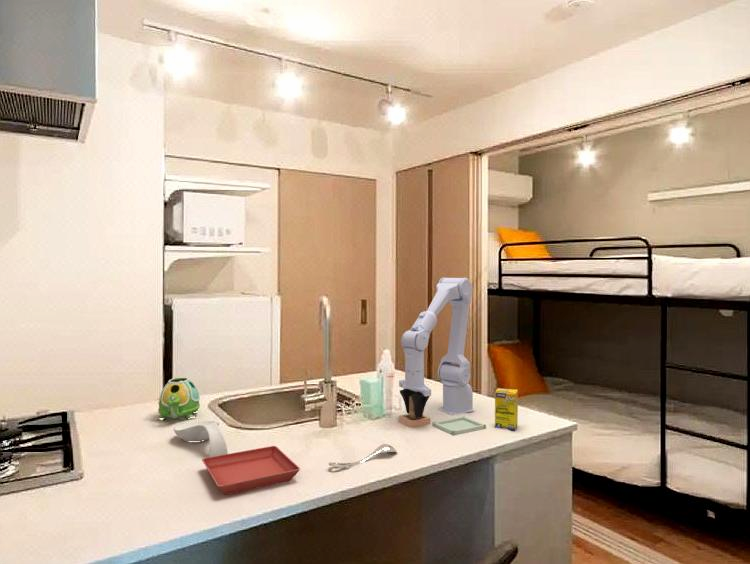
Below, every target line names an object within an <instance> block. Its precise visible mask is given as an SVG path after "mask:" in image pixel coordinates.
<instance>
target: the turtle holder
mask: <svg viewBox="0 0 750 564" xmlns="http://www.w3.org/2000/svg"><path fill="white" fill-rule="evenodd" d="M200 399H201V397H200V394H199V391H198V389H197V386H196V385H195V383H193V381H192V380H191V379H190V378H189V377H173V378H171V379H169V380H168V381H167V383H166V384H165V386H163V388H162V390H161V392H160V394H159V398H158V402H157V404H158V411H157V412H158V414H159V416H158V418H165V419H166V417H167V418H172V419H177V418H179V417H182V416H183V417H185V419H187V418H190V417H194V416H196V415H195V414H194V413H193V412H196V411H198V412H199V409H200V406H201V404H200Z"/></svg>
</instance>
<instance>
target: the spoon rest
mask: <svg viewBox="0 0 750 564" xmlns="http://www.w3.org/2000/svg"><path fill="white" fill-rule="evenodd" d="M173 432H174V434H175V435H176V436H177V437H178V438H180V439H181V440H183V441H184V442H186V441H202V440H206V439H208V438H209V439H208V442H209V445H208V446H209V447H208V448H209V450H208V451H209V453H208V458H209V457H214V456H220V455H225V454H229V452H228V451H229V450H228V447H227V443H226V440H225V438H224V435H223V433H222V431H221V428H220V423H219V421H216V420H215V421H214V420H200V421H193V422H187V423H182V424H180V425H177V426H175V427H174V429H173ZM206 441H207V440H206Z"/></svg>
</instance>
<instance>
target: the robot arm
mask: <svg viewBox="0 0 750 564" xmlns="http://www.w3.org/2000/svg"><path fill="white" fill-rule="evenodd" d="M472 295H473V285H472V283H471V281H470V280H469V278H467V277H444V276H443V277H442V278H440V279H439V281H438V283H437V284H436V293H435V295H434V297H432V298H433V299H432V301H431V302H430V304H429V306H428V308H427V310H426V311H425V310H424V311H422V312H420V313H419V315H418V317H417V318H416V319H415V322H414V323H413V324H412V326H411V328H410V329H408V330H406V331H405V332H404V333H403V334H402V336H401V339H400V344H401V346H402V348H403V349H402V350H403V351H402V352H403V354H404V379H400V380H398V381H399V382H398V387H400V388H402V389H401V390H400V389H399V394H400V395H401V398H402V400H403V403H404V406H405V411H406V413H407V414H409V396H411V397H412V399H413V403H414V411H415V417H417V418H418V417H422V415H424V411H425V407H426V404H427V402H428V400H429V399H430V398H431V397H432V389H431V388H429V387H428V386H427V385H426V384H425V350H426V349H427V347H428V346H429V340H430V335H431V333H432V330H434V328H435V327H436V325H437V323H438V319H437V316H438V315H439V314H440V312H441V311H442V309H444V307H445V306H446V304H447V303H449V304H450V305H451V306H452V312H451V313H452V314H451V323H450V331H449V339H448V347H447V354H445V355H444V356H443V357H441V358H440V363H439V366H438V369H437V376H438V377H437V378H438V379H439V381H440V384H442V407H437V410H439V411H440V412H444V413H446V414H449V415H451V416H455V415H458V414H459V415H460V414H467V413H472V412H475V409H474V408H473V402H474V401H473V397H474V396H473V393H474V391H473V389H472V386H471V385H470V384H469V382H470V380H471V376H472V373H471V362H470V361H469V360H468V359H467V358H466V357H465V348H466V340H467V337H466V336H467V330H468V322H469V321H468V319H469V312H470V304H471V303H472Z"/></svg>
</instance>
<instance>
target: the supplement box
mask: <svg viewBox="0 0 750 564" xmlns="http://www.w3.org/2000/svg"><path fill="white" fill-rule="evenodd" d="M494 393H495V394H494V428H497V429H506V430H509V431H514V432H515V431H516V430H517V427H518V423H519V422H518V417H519V416H518V415H519V413H518V412H519V408H518V407H519V403H518V402H519V399H518V398H519V389H512V388H511V389H510V388H501V387H498V388H497V389H496V390H495V392H494Z"/></svg>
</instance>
